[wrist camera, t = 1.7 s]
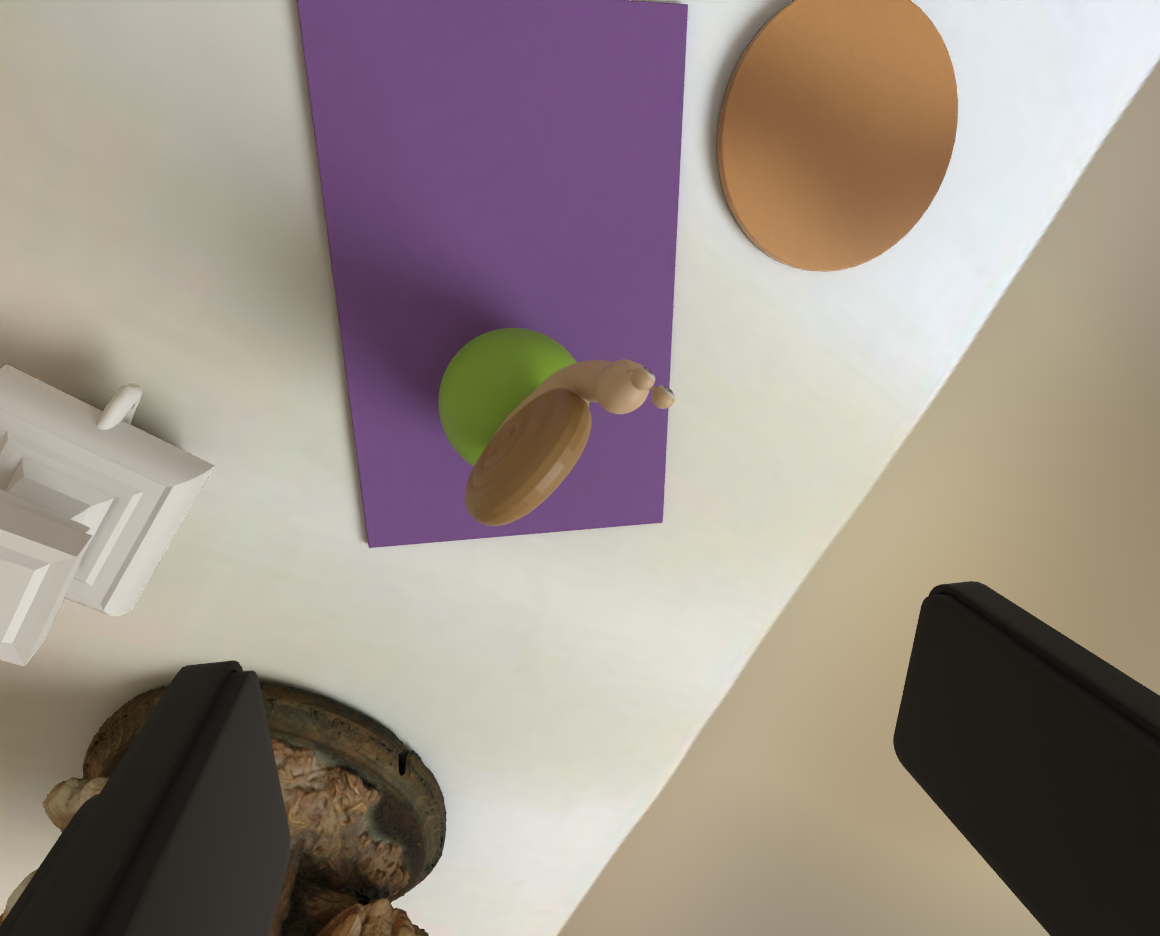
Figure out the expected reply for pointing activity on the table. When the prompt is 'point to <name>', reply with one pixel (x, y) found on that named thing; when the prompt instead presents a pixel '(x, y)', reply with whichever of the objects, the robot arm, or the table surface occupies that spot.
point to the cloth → (497, 229)
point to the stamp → (80, 506)
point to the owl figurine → (314, 812)
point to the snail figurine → (529, 415)
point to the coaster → (837, 130)
